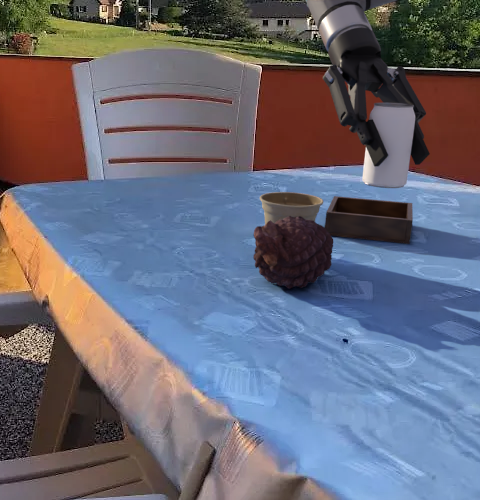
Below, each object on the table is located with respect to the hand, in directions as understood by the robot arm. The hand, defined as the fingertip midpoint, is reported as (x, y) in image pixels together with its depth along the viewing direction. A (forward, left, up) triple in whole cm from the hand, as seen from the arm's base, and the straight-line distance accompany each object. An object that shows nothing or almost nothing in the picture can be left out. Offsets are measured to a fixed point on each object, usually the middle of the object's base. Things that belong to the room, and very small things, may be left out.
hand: (402, 160), depth 104 cm
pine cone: (+12, +17, -15) cm, 26 cm away
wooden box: (+4, -16, -15) cm, 22 cm away
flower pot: (+15, +4, -15) cm, 22 cm away
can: (+2, -3, -5) cm, 6 cm away
